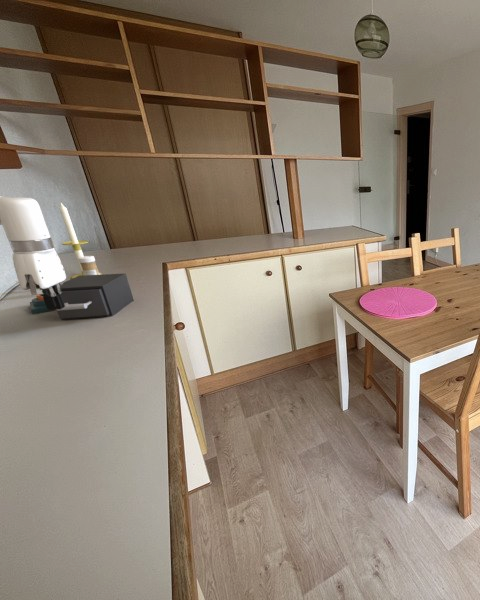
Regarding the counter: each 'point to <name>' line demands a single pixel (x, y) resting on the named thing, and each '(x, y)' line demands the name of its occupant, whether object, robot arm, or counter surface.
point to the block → (38, 306)
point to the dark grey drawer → (83, 303)
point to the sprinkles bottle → (88, 265)
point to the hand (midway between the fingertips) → (56, 308)
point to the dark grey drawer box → (104, 290)
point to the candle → (72, 237)
